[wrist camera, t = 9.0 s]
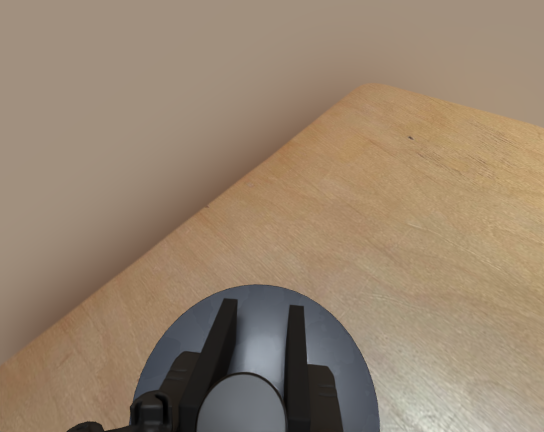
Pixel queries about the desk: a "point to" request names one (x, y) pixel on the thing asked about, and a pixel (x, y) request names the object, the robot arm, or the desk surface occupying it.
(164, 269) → the desk surface
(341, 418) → the robot arm
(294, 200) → the desk surface
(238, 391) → the lid
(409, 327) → the desk surface
